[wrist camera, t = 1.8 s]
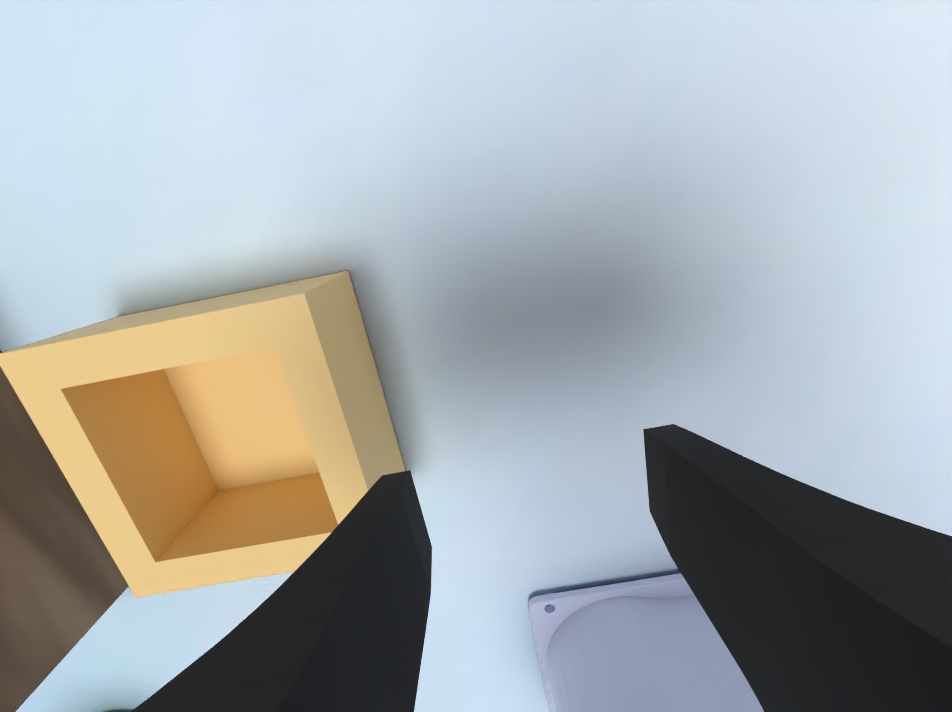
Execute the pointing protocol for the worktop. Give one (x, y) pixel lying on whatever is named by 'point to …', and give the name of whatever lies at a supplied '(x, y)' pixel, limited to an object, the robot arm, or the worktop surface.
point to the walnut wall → (43, 559)
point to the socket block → (214, 429)
